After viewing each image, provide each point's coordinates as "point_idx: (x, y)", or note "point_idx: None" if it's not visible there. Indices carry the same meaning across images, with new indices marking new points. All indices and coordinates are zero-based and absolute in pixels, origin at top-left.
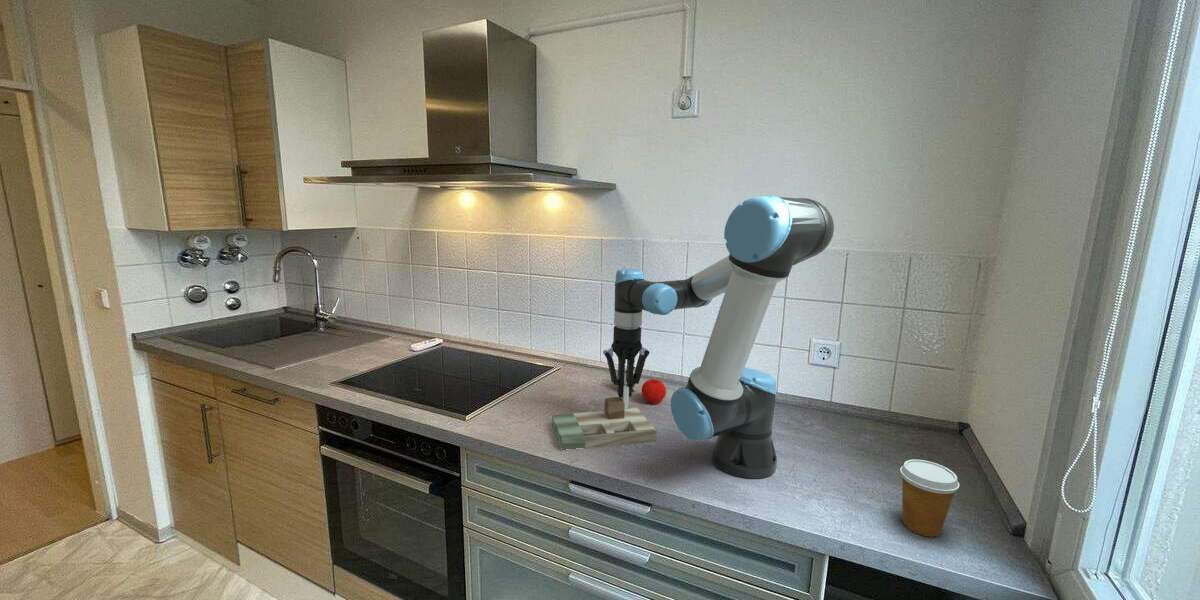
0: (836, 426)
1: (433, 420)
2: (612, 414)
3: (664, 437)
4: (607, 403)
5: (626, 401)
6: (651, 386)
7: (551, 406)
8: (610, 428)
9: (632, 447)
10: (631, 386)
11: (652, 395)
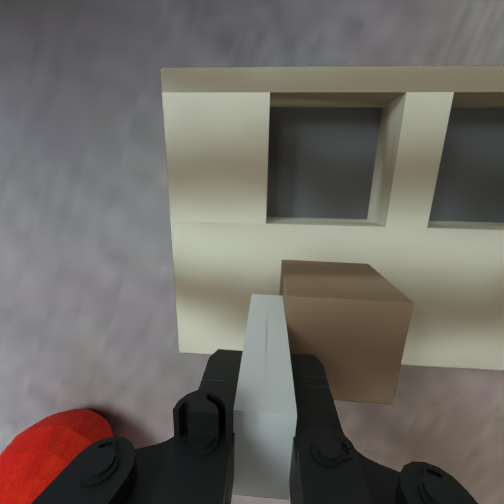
0: None
1: None
2: (355, 271)
3: (130, 118)
4: (401, 331)
5: (262, 320)
6: None
7: (481, 484)
8: (406, 153)
9: (311, 46)
10: (206, 406)
11: (73, 437)
